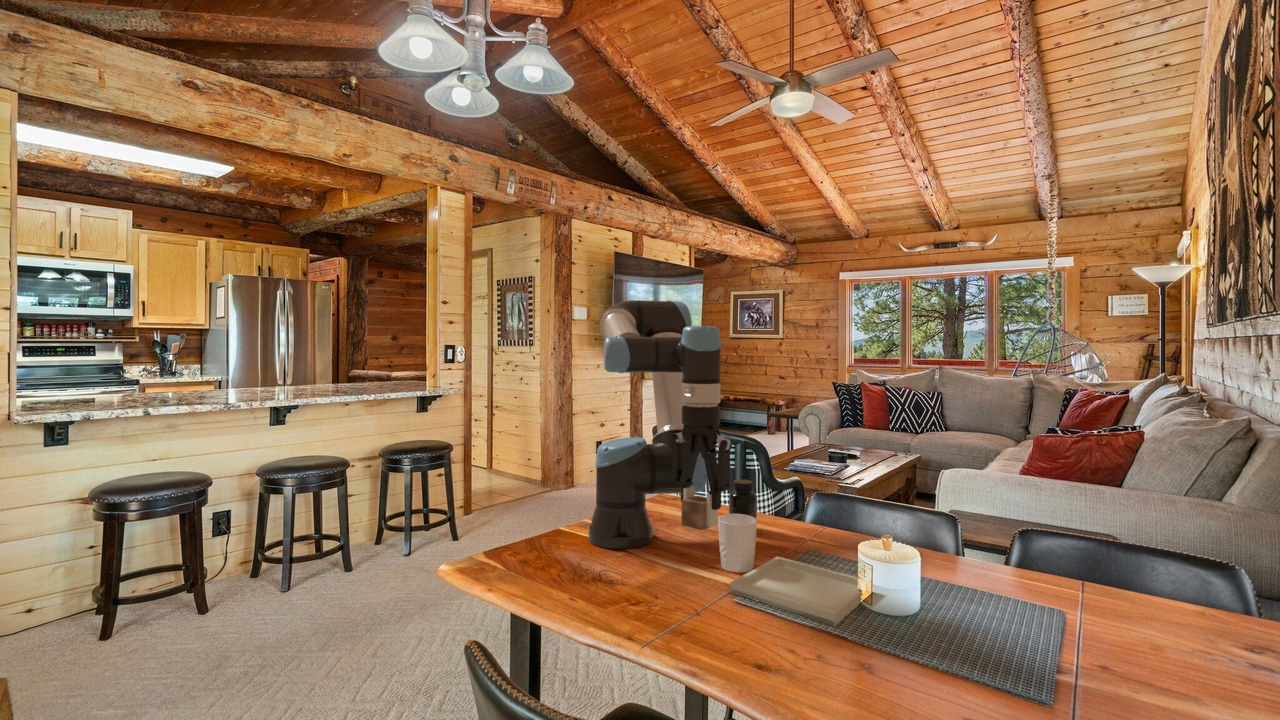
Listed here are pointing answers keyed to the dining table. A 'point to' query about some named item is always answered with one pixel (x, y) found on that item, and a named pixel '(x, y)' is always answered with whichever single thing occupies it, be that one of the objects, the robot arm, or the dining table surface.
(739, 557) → the white cup
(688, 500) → the walnut block
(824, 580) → the tray
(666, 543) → the dining table surface
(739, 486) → the supplement bottle
